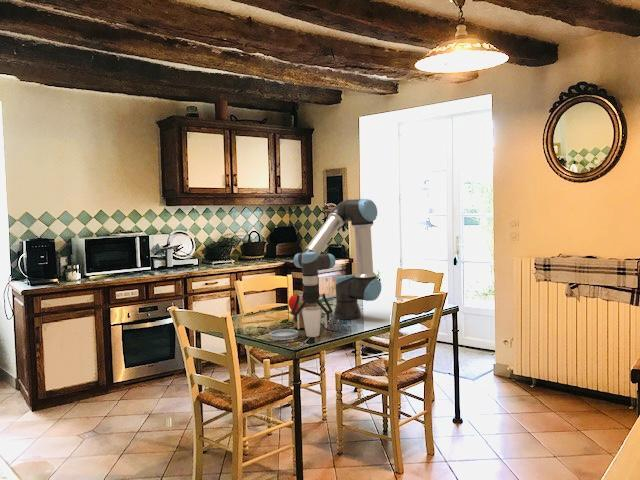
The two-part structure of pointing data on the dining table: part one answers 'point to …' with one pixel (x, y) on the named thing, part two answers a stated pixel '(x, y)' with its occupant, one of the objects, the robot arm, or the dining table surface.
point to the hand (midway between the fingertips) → (312, 328)
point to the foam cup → (312, 320)
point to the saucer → (283, 334)
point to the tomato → (293, 302)
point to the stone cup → (301, 321)
